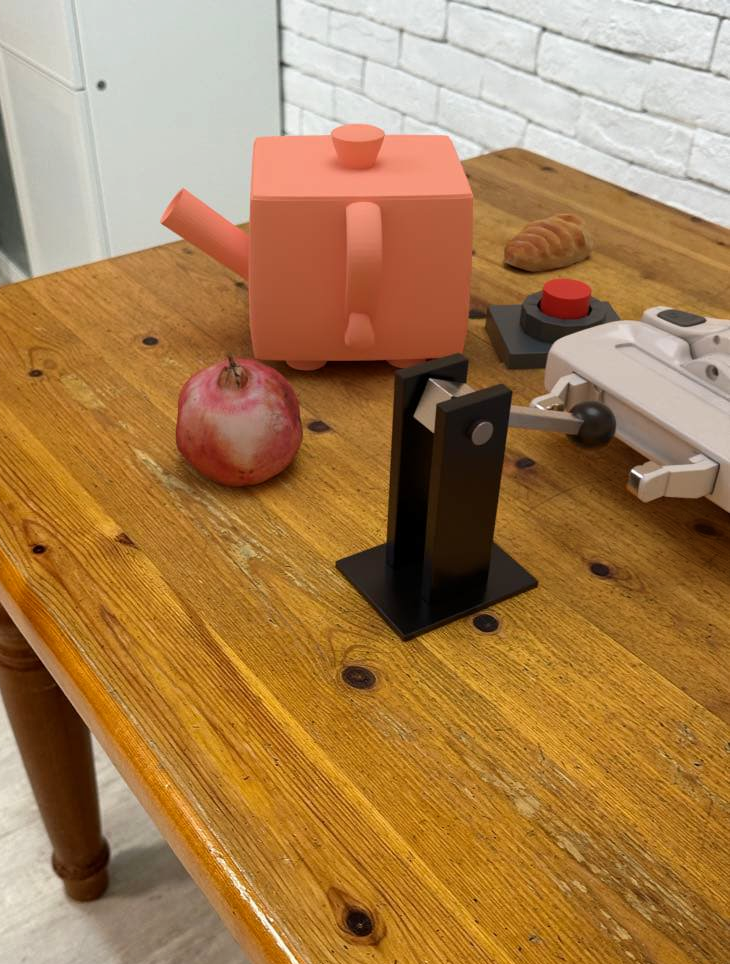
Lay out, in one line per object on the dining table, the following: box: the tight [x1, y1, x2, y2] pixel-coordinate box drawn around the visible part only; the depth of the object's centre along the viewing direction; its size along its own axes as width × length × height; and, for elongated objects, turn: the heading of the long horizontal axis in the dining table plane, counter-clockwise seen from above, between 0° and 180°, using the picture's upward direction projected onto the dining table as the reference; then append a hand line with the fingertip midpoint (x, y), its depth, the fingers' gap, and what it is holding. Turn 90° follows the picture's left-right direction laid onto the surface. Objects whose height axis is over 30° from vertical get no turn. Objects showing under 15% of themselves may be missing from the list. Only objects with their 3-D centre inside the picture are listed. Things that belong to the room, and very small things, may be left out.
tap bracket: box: [334, 353, 539, 643], centre depth 62 cm, size 10×8×15 cm
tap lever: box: [414, 378, 616, 452], centre depth 62 cm, size 15×3×3 cm, turn 120°
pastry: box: [503, 212, 594, 273], centre depth 105 cm, size 9×7×4 cm
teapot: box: [159, 123, 474, 371], centre depth 87 cm, size 25×23×18 cm
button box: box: [484, 289, 622, 371], centre depth 90 cm, size 11×9×4 cm
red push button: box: [540, 278, 593, 320], centre depth 88 cm, size 4×4×2 cm
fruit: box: [175, 351, 304, 488], centre depth 73 cm, size 9×10×10 cm
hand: (583, 449), depth 66 cm, fingers open, 8 cm apart
